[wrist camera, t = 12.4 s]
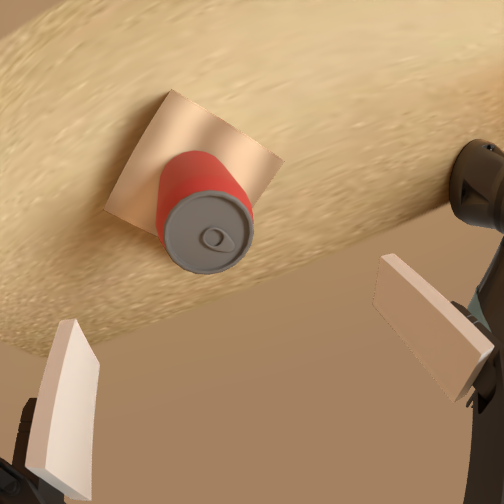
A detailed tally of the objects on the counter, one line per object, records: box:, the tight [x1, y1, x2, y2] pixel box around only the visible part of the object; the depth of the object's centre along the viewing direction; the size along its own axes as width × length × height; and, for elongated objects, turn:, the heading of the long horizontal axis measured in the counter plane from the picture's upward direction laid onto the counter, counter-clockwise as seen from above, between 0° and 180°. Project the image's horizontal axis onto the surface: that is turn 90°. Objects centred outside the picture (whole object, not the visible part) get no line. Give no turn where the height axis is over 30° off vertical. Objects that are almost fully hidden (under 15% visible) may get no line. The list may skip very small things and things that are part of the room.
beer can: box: [155, 150, 254, 275], centre depth 24 cm, size 7×7×12 cm
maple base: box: [103, 89, 285, 237], centre depth 31 cm, size 13×13×4 cm
